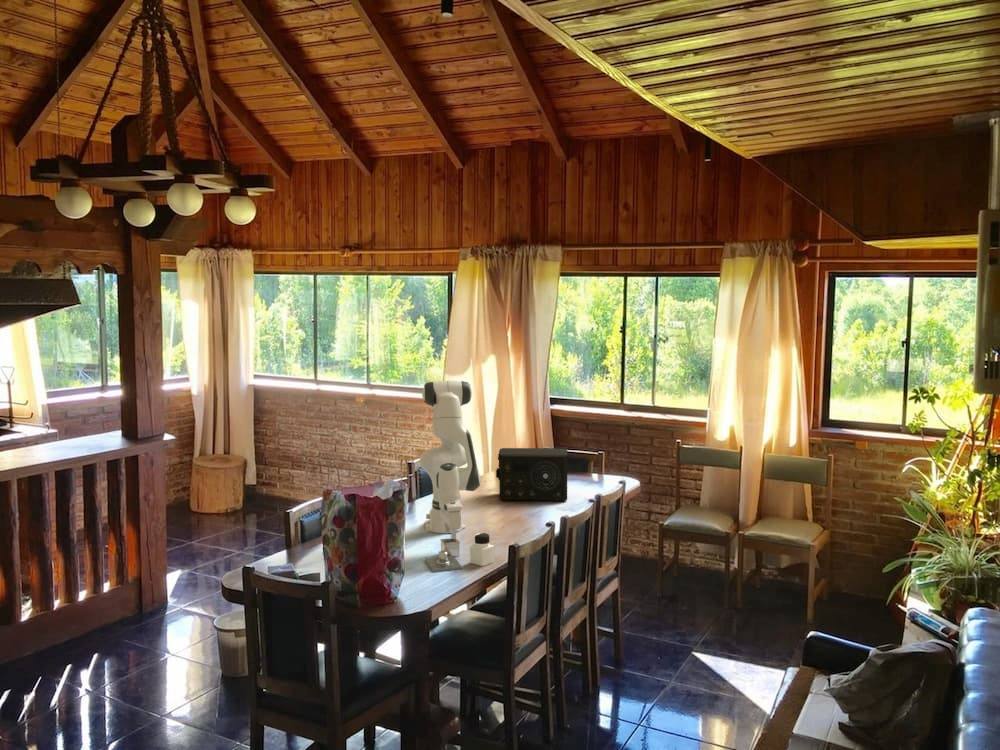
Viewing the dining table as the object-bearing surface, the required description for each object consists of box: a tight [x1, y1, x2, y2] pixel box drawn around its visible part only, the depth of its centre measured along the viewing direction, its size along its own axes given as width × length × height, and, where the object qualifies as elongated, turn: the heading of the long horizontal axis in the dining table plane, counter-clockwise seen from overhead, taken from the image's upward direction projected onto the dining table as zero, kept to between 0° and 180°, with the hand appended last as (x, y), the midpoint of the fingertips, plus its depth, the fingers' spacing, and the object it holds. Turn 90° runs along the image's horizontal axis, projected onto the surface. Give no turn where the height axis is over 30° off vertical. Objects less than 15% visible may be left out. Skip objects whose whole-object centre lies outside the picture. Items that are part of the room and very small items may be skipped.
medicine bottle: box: [469, 532, 495, 567], centre depth 356 cm, size 7×7×12 cm
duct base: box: [424, 550, 463, 573], centre depth 354 cm, size 14×12×5 cm
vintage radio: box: [495, 447, 569, 503], centre depth 457 cm, size 38×20×25 cm, turn 87°
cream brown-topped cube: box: [440, 537, 461, 558], centre depth 367 cm, size 7×7×6 cm
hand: (450, 535), depth 366 cm, fingers open, 8 cm apart
